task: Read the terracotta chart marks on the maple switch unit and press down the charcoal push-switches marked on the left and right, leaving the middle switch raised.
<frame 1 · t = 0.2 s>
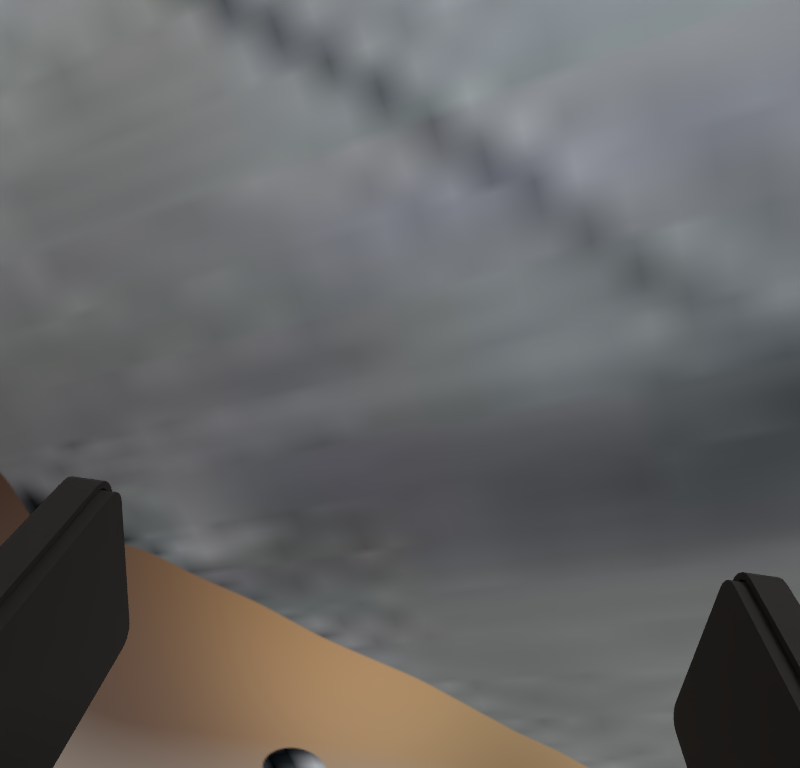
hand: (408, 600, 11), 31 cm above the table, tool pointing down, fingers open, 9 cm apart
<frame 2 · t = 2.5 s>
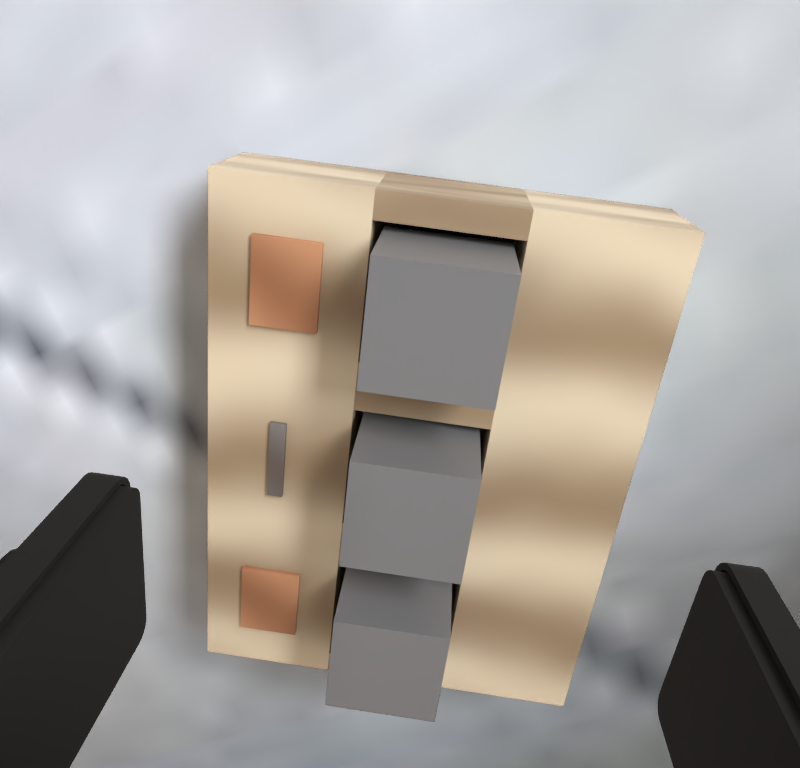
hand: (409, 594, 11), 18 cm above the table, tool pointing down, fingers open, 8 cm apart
button a: (437, 314, 23), point 5 cm above the table, slide at 0.0 cm
button c: (390, 635, 29), point 5 cm above the table, slide at 0.0 cm
button b: (411, 492, 26), point 5 cm above the table, slide at 0.0 cm
switch unit: (419, 429, 31), on the table
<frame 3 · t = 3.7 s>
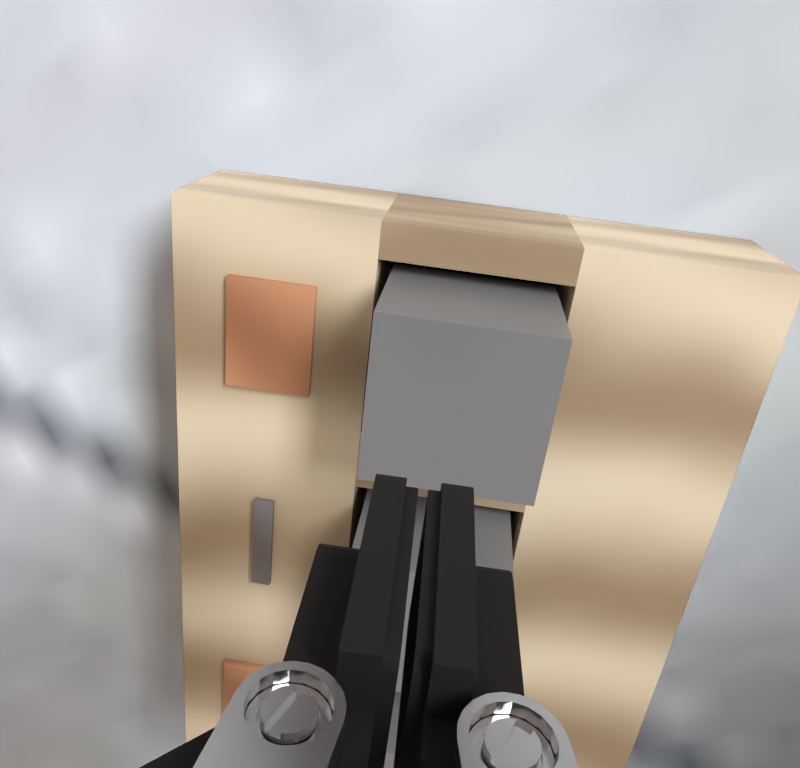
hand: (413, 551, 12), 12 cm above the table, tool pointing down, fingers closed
button a: (460, 378, 18), point 5 cm above the table, slide at 0.0 cm
button c: (399, 746, 24), point 5 cm above the table, slide at 0.0 cm
button b: (425, 588, 21), point 5 cm above the table, slide at 0.0 cm
switch unit: (435, 495, 26), on the table
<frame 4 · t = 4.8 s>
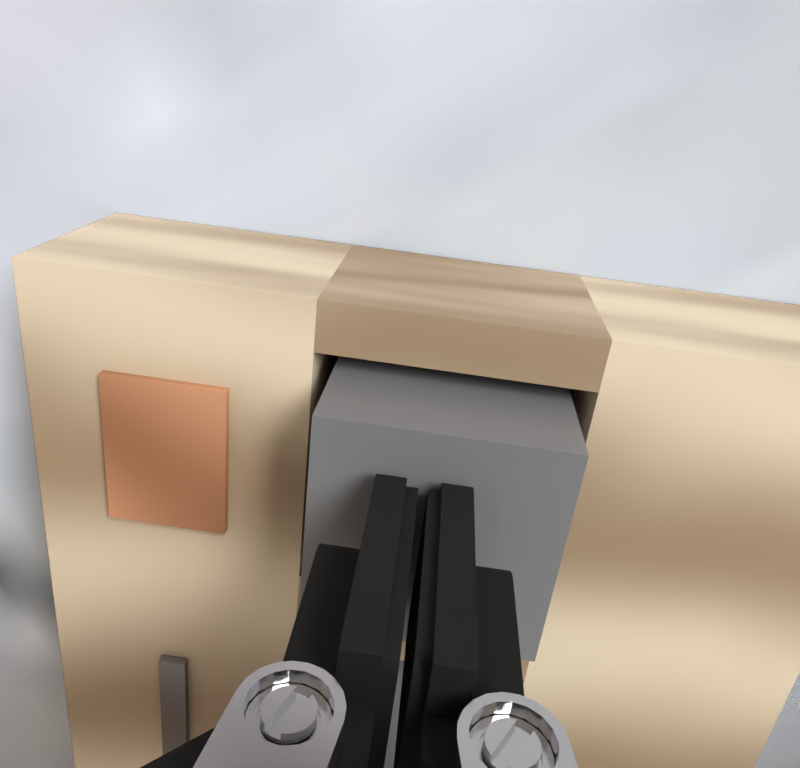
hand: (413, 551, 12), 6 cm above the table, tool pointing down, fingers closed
button a: (436, 483, 14), point 4 cm above the table, slide at 1.3 cm, touching gripper
switch unit: (409, 619, 20), on the table
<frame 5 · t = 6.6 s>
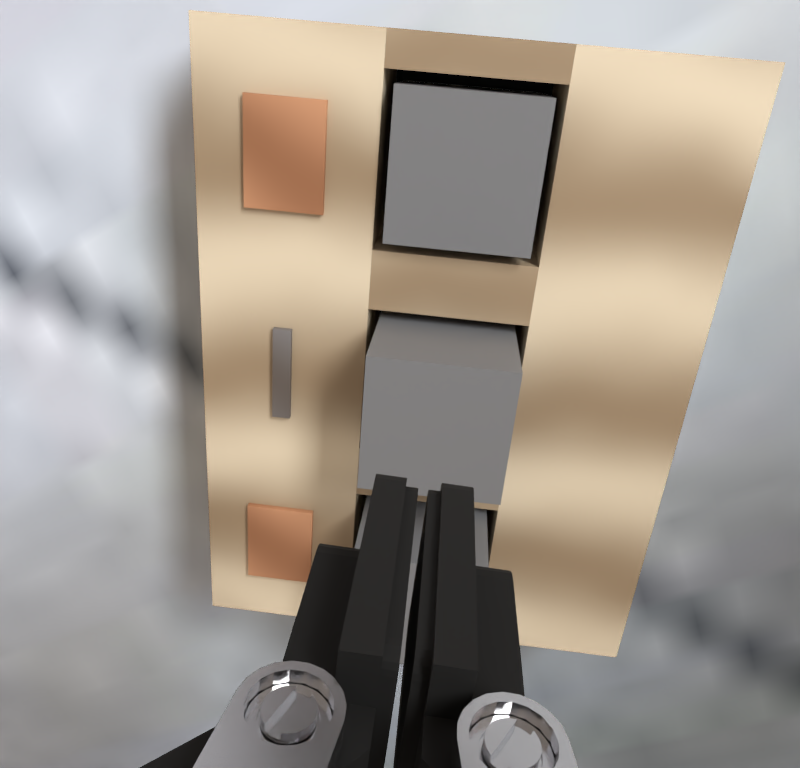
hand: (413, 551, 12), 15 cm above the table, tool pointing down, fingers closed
button a: (465, 165, 22), point 2 cm above the table, slide at 2.5 cm
button c: (418, 576, 25), point 5 cm above the table, slide at 0.0 cm
button b: (438, 403, 22), point 5 cm above the table, slide at 0.0 cm
switch unit: (443, 346, 27), on the table
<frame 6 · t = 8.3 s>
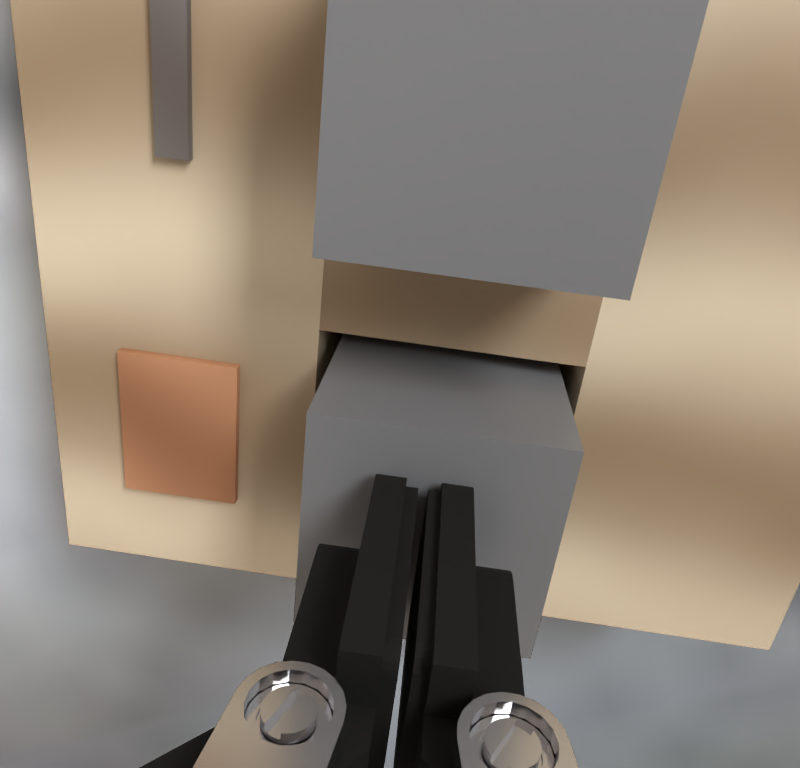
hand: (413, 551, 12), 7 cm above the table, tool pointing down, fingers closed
button c: (432, 480, 14), point 5 cm above the table, slide at 0.3 cm, touching gripper
button b: (492, 100, 11), point 5 cm above the table, slide at 0.0 cm
switch unit: (485, 88, 15), on the table
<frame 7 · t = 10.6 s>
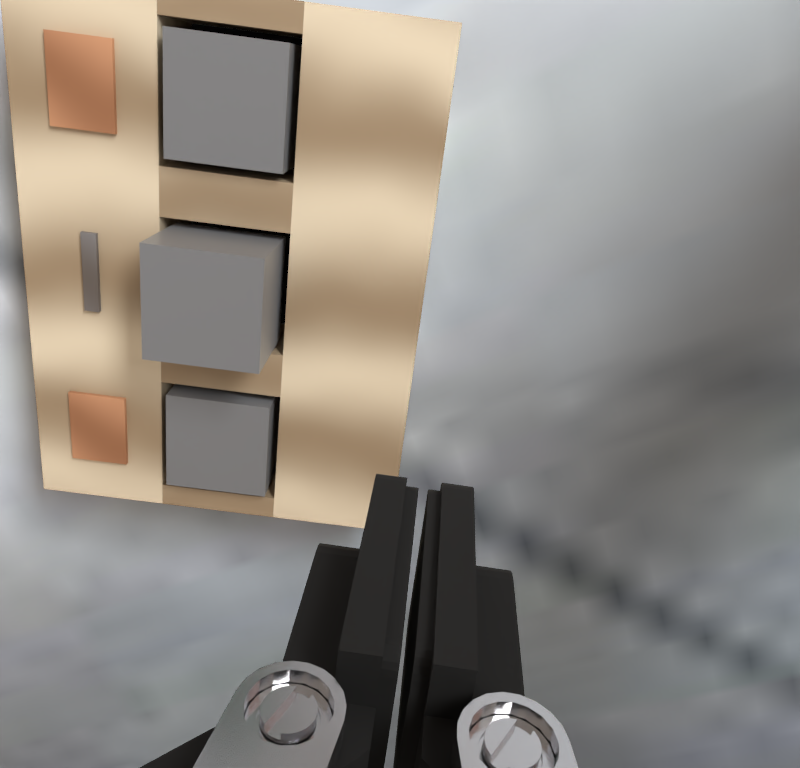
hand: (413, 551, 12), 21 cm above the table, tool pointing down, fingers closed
button a: (238, 101, 27), point 2 cm above the table, slide at 2.5 cm
button c: (228, 426, 32), point 2 cm above the table, slide at 2.5 cm
button b: (216, 295, 27), point 5 cm above the table, slide at 0.0 cm
switch unit: (246, 265, 32), on the table
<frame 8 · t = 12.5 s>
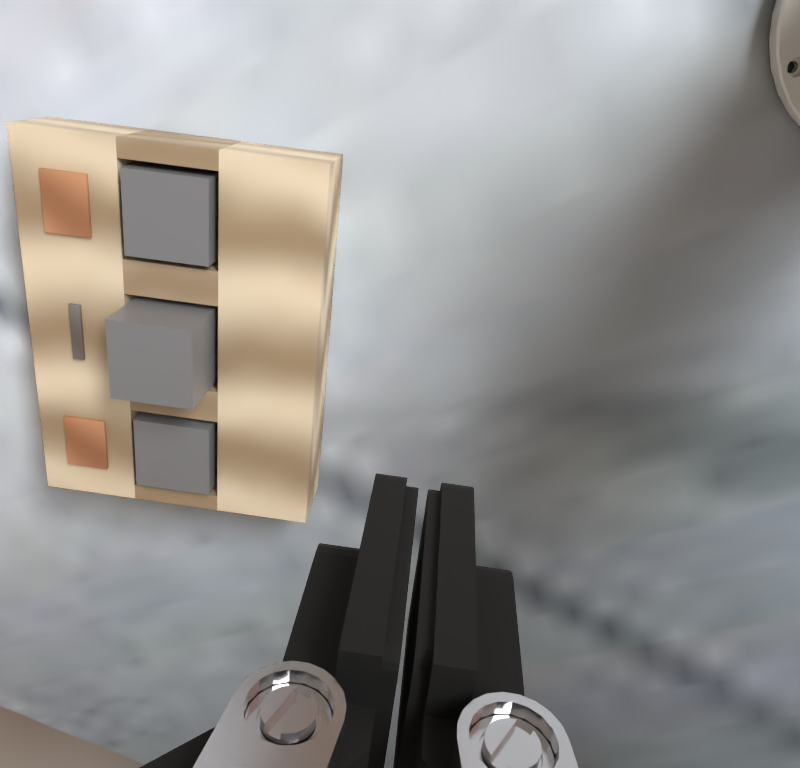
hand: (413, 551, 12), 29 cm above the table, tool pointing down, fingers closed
button a: (180, 210, 37), point 2 cm above the table, slide at 2.5 cm
button c: (184, 441, 43), point 2 cm above the table, slide at 2.5 cm
button b: (165, 351, 38), point 5 cm above the table, slide at 0.0 cm
switch unit: (197, 320, 42), on the table
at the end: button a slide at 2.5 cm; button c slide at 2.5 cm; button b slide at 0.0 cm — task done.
